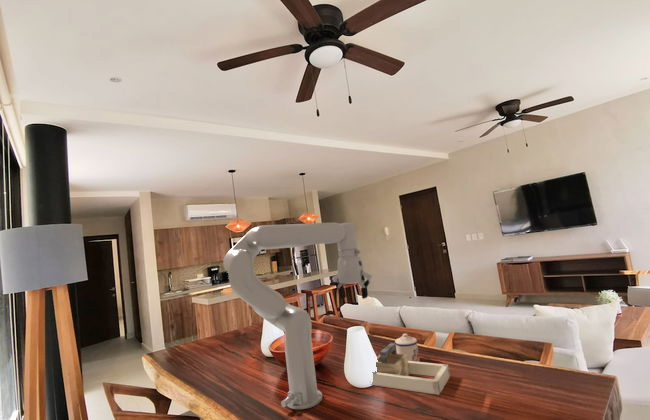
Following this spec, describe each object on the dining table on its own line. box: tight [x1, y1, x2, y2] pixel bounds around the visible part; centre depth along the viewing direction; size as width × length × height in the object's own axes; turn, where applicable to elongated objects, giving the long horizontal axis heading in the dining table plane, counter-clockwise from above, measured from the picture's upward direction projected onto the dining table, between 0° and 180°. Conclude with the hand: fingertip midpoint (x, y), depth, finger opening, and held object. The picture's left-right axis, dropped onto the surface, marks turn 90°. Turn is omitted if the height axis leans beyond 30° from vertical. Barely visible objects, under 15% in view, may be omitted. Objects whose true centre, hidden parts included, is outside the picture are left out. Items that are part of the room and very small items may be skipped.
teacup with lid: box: [394, 333, 421, 362], centre depth 137 cm, size 12×9×12 cm
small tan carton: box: [376, 342, 411, 376], centre depth 121 cm, size 10×10×11 cm
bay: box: [370, 361, 451, 396], centre depth 117 cm, size 16×24×5 cm, turn 56°
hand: (353, 298), depth 128 cm, fingers open, 9 cm apart
